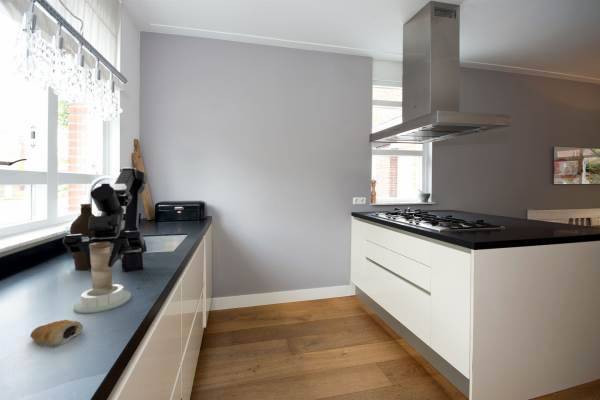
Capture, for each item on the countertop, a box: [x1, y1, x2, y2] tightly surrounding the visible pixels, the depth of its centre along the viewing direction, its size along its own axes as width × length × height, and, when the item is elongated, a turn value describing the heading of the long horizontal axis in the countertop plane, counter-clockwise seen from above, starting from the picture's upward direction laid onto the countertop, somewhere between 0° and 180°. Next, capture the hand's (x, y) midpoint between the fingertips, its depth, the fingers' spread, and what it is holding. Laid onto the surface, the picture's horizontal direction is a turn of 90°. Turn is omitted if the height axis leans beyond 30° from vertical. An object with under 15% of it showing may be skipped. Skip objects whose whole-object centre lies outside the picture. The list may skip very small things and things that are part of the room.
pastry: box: [30, 319, 84, 348], centre depth 60 cm, size 9×7×4 cm
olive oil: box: [69, 203, 96, 271], centre depth 110 cm, size 11×11×25 cm
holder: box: [73, 283, 132, 314], centre depth 77 cm, size 13×13×3 cm
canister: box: [89, 241, 113, 293], centre depth 77 cm, size 5×5×13 cm
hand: (99, 267), depth 75 cm, fingers closed on canister, 4 cm apart
